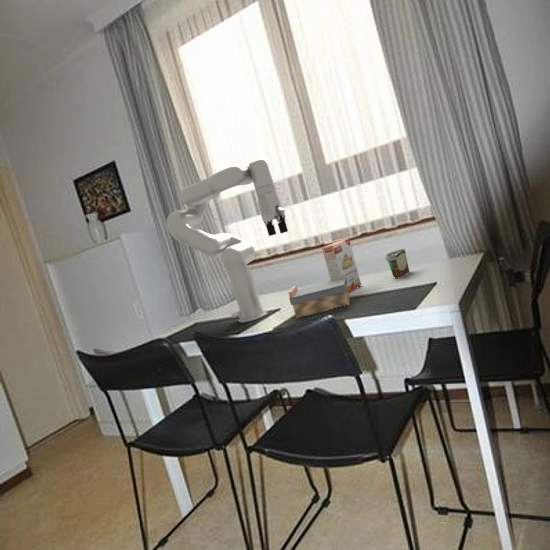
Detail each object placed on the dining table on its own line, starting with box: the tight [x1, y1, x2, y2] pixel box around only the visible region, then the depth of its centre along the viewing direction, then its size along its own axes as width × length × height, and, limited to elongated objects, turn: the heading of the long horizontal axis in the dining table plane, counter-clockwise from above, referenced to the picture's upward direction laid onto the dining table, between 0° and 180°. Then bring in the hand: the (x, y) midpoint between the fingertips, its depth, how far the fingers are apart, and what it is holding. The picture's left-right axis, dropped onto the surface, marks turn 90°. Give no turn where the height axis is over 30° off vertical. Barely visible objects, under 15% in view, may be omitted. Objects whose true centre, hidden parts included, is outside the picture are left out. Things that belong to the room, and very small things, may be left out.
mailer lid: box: [288, 277, 347, 306], centre depth 176 cm, size 21×15×5 cm
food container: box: [385, 248, 410, 279], centre depth 193 cm, size 12×6×10 cm, turn 144°
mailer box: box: [292, 282, 351, 319], centre depth 176 cm, size 20×13×7 cm, turn 79°
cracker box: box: [321, 238, 362, 294], centre depth 192 cm, size 14×6×21 cm, turn 143°
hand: (278, 233), depth 183 cm, fingers open, 9 cm apart
